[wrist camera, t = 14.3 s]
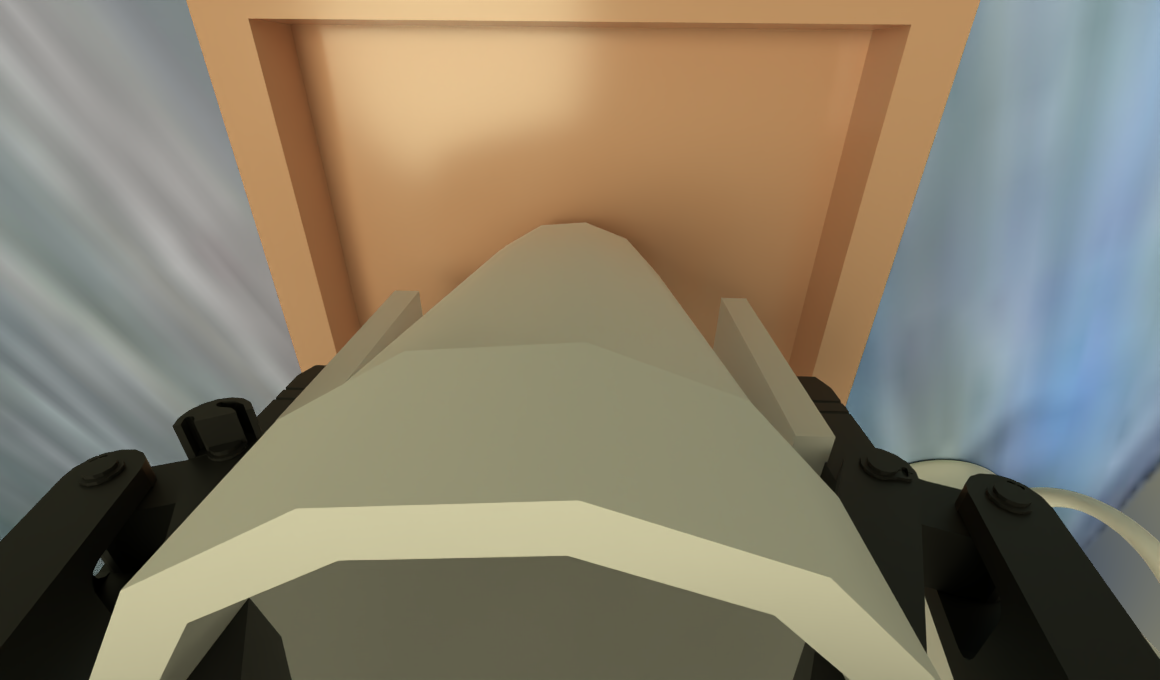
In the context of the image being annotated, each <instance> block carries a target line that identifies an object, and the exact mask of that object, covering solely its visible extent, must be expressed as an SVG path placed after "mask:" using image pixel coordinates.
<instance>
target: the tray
mask: <svg viewBox="0 0 1160 680" xmlns="http://www.w3.org/2000/svg"><path fill="white" fill-rule="evenodd" d="M186 1H187V4H188V8H189V11H190V14H191V17H192V20H193V24H194V27H195V30H196V33H197V37H198V40H199V43H200V46H201V49H202V53H203V56H204V59H205V62H206V66H207V69H208V72H209V75H210V78H211V82H212V85H213V88H214V91H215V95H216V98H217V101H218V104H219V107H220V111H221V114H222V117H223V120H224V124H225V127H226V130H227V133H228V136H229V140H230V143H231V146H232V149H233V153H234V156H235V159H236V162H237V165H238V169H239V172H240V175H241V178H242V182H243V185H244V188H245V191H246V194H247V198H248V201H249V204H250V207H251V211H252V214H253V217H254V220H255V223H256V227H257V230H258V233H259V236H260V240H261V243H262V246H263V249H264V252H265V256H266V259H267V262H268V265H269V269H270V272H271V275H272V278H273V281H274V285H275V288H276V291H277V294H278V298H279V301H280V304H281V307H282V310H283V314H284V317H285V320H286V323H287V327H288V330H289V333H290V336H291V339H292V343H293V346H294V349H295V352H296V356H297V359H298V362H299V365H300V368H301V372H302V373H303V372H304V371H306V370H308V369H310V368H311V367H313V366H315V365H327V364H328V363H329V362H330V361H331V360H332V359H333V358H334V357H335V355H336V354H337V353H338V352H339V351H340V350H341V349H342V348H343V347H344V346H345V345H346V343H347V342H348V341H349V340H350V339H351V338H352V337H353V336H354V335H355V334H356V333H357V331H358V330H359V329H360V328H361V327H362V326H363V325H364V324H365V323H366V322H367V321H368V319H369V318H370V317H371V316H372V315H373V314H374V313H375V312H376V311H377V310H378V309H379V307H380V306H381V305H382V304H383V303H384V302H385V301H386V300H387V299H388V298H389V297H390V295H391V294H392V293H393V292H394V291H419V295H420V301H421V307H422V313H423V315H425V314H426V313H427V312H428V311H429V310H430V309H432V308H433V307H434V306H435V305H436V304H437V303H439V302H440V301H441V300H442V299H443V298H444V297H446V296H447V295H448V294H449V293H450V292H451V291H453V290H454V289H455V288H456V287H457V286H458V285H460V284H461V283H462V282H463V281H464V280H465V279H467V278H468V277H469V276H470V275H471V274H472V273H474V272H475V271H476V270H477V269H478V268H479V267H481V266H482V265H483V264H484V263H485V262H486V261H488V260H489V259H490V258H491V257H492V256H493V255H495V254H496V253H497V252H498V251H499V250H501V249H503V248H504V247H505V246H506V245H508V244H510V243H512V242H513V241H515V240H517V239H518V238H520V237H522V236H524V235H525V234H527V233H529V232H531V231H532V230H534V229H536V228H538V227H539V226H541V225H553V224H568V223H583V222H586V223H588V224H591V225H593V226H596V227H598V228H601V229H603V230H606V231H608V232H611V233H613V234H616V235H618V236H621V237H623V238H626V239H627V240H628V241H629V242H630V243H631V245H632V246H633V247H634V248H635V249H636V250H637V251H638V252H639V253H640V255H641V256H642V257H643V258H644V259H645V260H646V261H647V262H648V263H649V265H650V266H651V267H652V268H653V269H654V271H655V272H656V273H657V274H658V275H659V276H660V278H661V279H662V280H663V282H664V283H665V285H666V286H667V287H668V289H669V290H670V291H671V293H672V294H673V296H674V297H675V298H676V300H677V301H678V302H679V304H680V305H681V307H682V308H683V309H684V311H685V312H686V313H687V315H688V316H689V318H690V319H691V320H692V322H693V323H694V324H695V326H696V327H697V329H698V330H699V331H700V333H701V334H702V335H703V337H704V338H705V340H706V341H707V342H708V344H709V345H710V346H711V348H712V349H713V346H714V340H715V334H716V328H717V322H718V315H719V309H720V303H721V298H746V299H747V301H748V302H749V304H750V305H751V307H752V308H753V310H754V311H755V313H756V315H757V316H758V318H759V319H760V321H761V322H762V324H763V325H764V327H765V329H766V330H767V332H768V333H769V335H770V336H771V338H772V339H773V341H774V342H775V344H776V346H777V347H778V349H779V350H780V352H781V353H782V355H783V356H784V358H785V359H786V361H787V363H788V364H789V366H790V367H791V369H792V370H793V372H794V373H795V375H796V376H811V377H816V378H818V379H819V380H821V381H822V382H824V383H825V384H826V385H828V386H829V387H831V388H832V390H833V391H834V392H835V394H836V395H837V396H838V398H839V399H840V400H841V403H843V405H844V406H846V403H847V400H848V397H849V394H850V391H851V388H852V385H853V382H854V379H855V376H856V373H857V370H858V367H859V364H860V361H861V358H862V355H863V352H864V349H865V345H866V342H867V339H868V336H869V333H870V330H871V327H872V324H873V321H874V318H875V315H876V312H877V309H878V306H879V303H880V300H881V297H882V294H883V291H884V288H885V285H886V282H887V279H888V276H889V273H890V270H891V267H892V264H893V261H894V258H895V255H896V252H897V249H898V246H899V243H900V240H901V237H902V234H903V231H904V228H905V225H906V222H907V219H908V216H909V213H910V210H911V207H912V204H913V201H914V198H915V195H916V192H917V189H918V186H919V183H920V180H921V177H922V174H923V171H924V168H925V165H926V162H927V159H928V156H929V153H930V150H931V147H932V144H933V141H934V138H935V135H936V132H937V129H938V126H939V123H940V120H941V117H942V114H943V111H944V108H945V105H946V102H947V99H948V96H949V93H950V90H951V87H952V84H953V81H954V78H955V75H956V72H957V69H958V66H959V63H960V60H961V57H962V54H963V51H964V48H965V45H966V42H967V39H968V36H969V33H970V30H971V27H972V24H973V21H974V18H975V15H976V12H977V9H978V6H979V3H980V0H186Z"/></svg>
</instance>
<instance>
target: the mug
mask: <svg viewBox="0 0 1160 680" xmlns="http://www.w3.org/2000/svg"><path fill="white" fill-rule="evenodd" d="M909 465H910V466H911V467H912V468H913V469H914V470H915V471H916V473H917V475H918V478H919V479H922V480H925V481H928V482H932V483H937V484H941V485H945V486H949V487H953V488H957V489H961V490H962V489H963V487H964V485H965V483H966V481H967V480H968V478H969V477H970V476H972V475H976V474H979V473H982V474H994V473H993V472H991V471H990V470H988V469H986V468H984V467H981V466H979V465H976V464H972V463H968V462H963V461H955V460H931V461H923V462H917V463H912V464H909ZM995 475H996V474H995ZM1030 489H1031V490H1033V491H1034V492H1036V493H1037V494H1039V495H1040V496H1042V497H1043V498H1044V499H1045V501H1046V502H1047V503H1048V504H1049V505H1050V506H1051V507H1066V508H1072V509H1076V510H1079V511H1082V512H1085V513H1087V514H1089V515H1091V516H1093V517H1095V518H1097V519H1099V520H1100V521H1102V522H1104V523H1105V524H1107V525H1108V526H1109V527H1111V528H1112V529H1114V530H1115V531H1116V532H1117V533H1119V534H1120V535H1121V536H1122V537H1123V538H1124V539H1125V540H1127V542H1128V543H1129V544H1130V545H1131V546H1132V547H1133V548H1134V549H1135V550H1136V551H1137V552H1138V553H1139V555H1140V556H1141V557H1142V558H1143V559H1144V561H1145V562H1146V563H1147V565H1148V566H1149V567H1150V569H1151V571H1152V572H1153V574H1154V575H1155V577H1156V579H1157V580H1158V582H1159V584H1160V542H1159V541H1158V540H1157V539H1156V538H1155V537H1154V536H1152V535H1151V534H1150V533H1149V532H1148V531H1147V530H1146V529H1144V528H1143V527H1142V526H1140V525H1139V524H1138V523H1136V522H1135V521H1134V520H1132V519H1131V518H1129V517H1128V516H1126V515H1125V514H1123V513H1122V512H1120V511H1118V510H1117V509H1115V508H1113V507H1111V506H1109V505H1107V504H1105V503H1103V502H1101V501H1099V500H1097V499H1094V498H1092V497H1089V496H1086V495H1083V494H1080V493H1077V492H1073V491H1069V490H1064V489H1058V488H1049V487H1033V488H1030ZM925 617H926V641H927V655H928V657H929V659H930V661H931V662H932V664H933V666H934V668H935V670H936V671H937V673H938V675H939V677H940V678H941V680H954V679H953V676H952V673H951V671H950V668H949V665H948V662H947V659H946V656H945V653H944V650H943V648H942V645H941V642H940V639H939V636H938V633H937V630H936V627H935V624H934V622H933V619H932V616H931V613H930V610H929V607H928V604H927V601H926V599H925ZM1142 635H1143V634H1142ZM1143 636H1144V635H1143ZM1144 638H1145V639H1146V637H1145V636H1144ZM1146 640H1147V642H1148V643H1149V645H1150V646H1151V647H1152V649H1153V650H1154V652H1155V653H1156V654H1157V656H1158V657H1159V659H1160V652H1159V651H1158V650H1157V649H1156V648H1155V647H1154V646H1153V645H1152V644H1151V642H1150V641H1149V640H1148V639H1146Z"/></svg>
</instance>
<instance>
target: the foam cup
mask: <svg viewBox="0 0 1160 680" xmlns="http://www.w3.org/2000/svg"><path fill="white" fill-rule="evenodd" d="M248 598H250V599H251V600H252V601H253V603H254V604H255V605H256V606H257V607H258V609H259V610H260V611H261V612H262V614H263V615H264V616H265V617H266V618H267V620H268V621H269V622H270V623H271V625H272V626H273V627H274V628H275V629H276V631H277V632H278V633H279V634H280V636H281V637H282V641H283V645H284V650H285V654H286V658H287V662H288V666H289V671H290V675H291V679H292V680H793V677H794V674H795V671H796V668H797V665H798V662H799V659H800V656H801V653H802V650H803V647H804V644H805V642H806V643H807V644H809V645H810V646H811V647H812V648H813V649H814V650H816V651H817V652H818V653H819V654H820V655H821V656H823V657H824V658H825V659H826V660H827V661H829V662H830V663H831V664H832V665H833V666H834V667H836V668H837V669H838V670H839V671H840V672H841V673H843V675H844V678H845V680H941V678H940V677H939V675H938V673H937V671H936V670H935V668H934V666H933V664H932V662H931V661H930V659H929V657H928V655H927V654H926V652H925V650H924V648H923V646H922V645H921V643H920V641H919V639H918V638H917V636H916V634H915V632H914V630H913V629H912V627H911V625H910V623H909V622H908V620H907V618H906V616H905V614H904V613H903V611H902V609H901V607H900V606H899V604H898V602H897V600H896V598H895V597H894V595H893V593H892V591H891V590H890V588H889V586H888V584H887V582H886V581H885V579H884V577H883V575H882V574H881V572H880V570H879V568H878V566H877V565H876V563H875V561H874V559H873V558H872V556H871V554H870V552H869V550H868V549H867V547H866V545H865V543H864V542H863V540H862V538H861V536H860V534H859V533H858V531H857V529H856V527H855V526H854V524H853V522H852V520H851V518H850V517H849V515H848V513H847V511H846V509H845V508H844V506H843V504H842V502H841V501H840V499H839V497H838V496H837V495H836V494H835V493H834V492H833V491H832V490H831V489H830V487H829V486H828V485H827V484H826V483H825V482H824V481H823V480H822V479H821V478H820V477H819V476H818V474H817V473H816V472H815V471H814V470H813V469H812V468H811V467H810V466H809V465H808V464H807V463H806V461H805V460H804V459H803V458H802V457H801V456H800V455H799V454H798V453H797V452H796V451H795V449H794V448H793V447H792V446H791V445H790V444H789V443H788V442H787V441H786V440H785V439H784V438H783V436H782V435H781V434H780V433H779V432H778V431H777V430H776V429H775V428H774V427H773V426H772V425H771V423H770V422H769V421H768V420H767V419H766V418H765V417H764V416H763V415H762V414H761V413H760V412H759V410H758V409H757V408H756V407H755V406H754V405H753V404H752V403H751V401H750V400H749V399H748V397H747V396H746V395H745V393H744V392H743V390H742V389H741V388H740V386H739V385H738V384H737V382H736V381H735V379H734V378H733V377H732V375H731V374H730V373H729V371H728V370H727V368H726V367H725V366H724V364H723V363H722V362H721V360H720V359H719V357H718V356H717V355H716V353H715V352H714V351H713V349H712V348H711V346H710V345H709V344H708V342H707V341H706V340H705V338H704V337H703V335H702V334H701V333H700V331H699V330H698V329H697V327H696V326H695V324H694V323H693V322H692V320H691V319H690V318H689V316H688V315H687V313H686V312H685V311H684V309H683V308H682V307H681V305H680V304H679V302H678V301H677V300H676V298H675V297H674V296H673V294H672V293H671V291H670V290H669V289H668V287H667V286H666V285H665V283H664V282H663V280H662V279H661V278H660V276H659V275H658V274H657V273H656V272H655V271H654V269H653V268H652V267H651V266H650V265H649V263H648V262H647V261H646V260H645V259H644V258H643V257H642V256H641V255H640V253H639V252H638V251H637V250H636V249H635V248H634V247H633V246H632V245H631V243H630V242H629V241H628V240H627V239H626V238H623V237H621V236H618V235H616V234H613V233H611V232H608V231H606V230H603V229H601V228H598V227H596V226H593V225H591V224H588V223H586V222H583V223H568V224H553V225H541V226H539V227H538V228H536V229H534V230H532V231H531V232H529V233H527V234H525V235H524V236H522V237H520V238H518V239H517V240H515V241H513V242H512V243H510V244H508V245H506V246H505V247H504V248H503V249H501V250H499V251H498V252H497V253H496V254H495V255H493V256H492V257H491V258H490V259H489V260H488V261H486V262H485V263H484V264H483V265H482V266H481V267H479V268H478V269H477V270H476V271H475V272H474V273H472V274H471V275H470V276H469V277H468V278H467V279H465V280H464V281H463V282H462V283H461V284H460V285H458V286H457V287H456V288H455V289H454V290H453V291H451V292H450V293H449V294H448V295H447V296H446V297H444V298H443V299H442V300H441V301H440V302H439V303H437V304H436V305H435V306H434V307H433V308H432V309H430V310H429V311H428V312H427V313H426V314H425V315H423V316H422V317H421V318H420V319H419V320H418V321H416V322H415V323H414V324H413V325H412V326H411V327H409V328H408V329H407V330H406V331H405V332H404V333H402V334H401V335H400V336H399V337H398V338H397V339H395V340H394V341H393V342H392V343H391V344H389V345H388V346H387V347H386V348H385V349H384V350H382V351H381V352H380V353H379V354H378V355H377V356H375V357H374V358H373V359H372V360H371V361H370V362H368V363H367V364H366V365H365V366H364V367H363V368H361V369H360V370H359V371H358V372H357V373H356V374H354V375H353V376H352V377H351V378H350V379H349V380H347V381H346V382H345V383H344V384H343V385H341V386H339V387H337V388H335V389H333V390H332V391H330V392H328V393H326V394H324V395H322V396H321V397H319V398H317V399H315V400H313V401H311V402H310V403H308V404H306V405H304V406H302V407H300V408H298V409H297V410H295V411H293V412H291V413H289V414H287V415H286V416H284V417H282V418H280V419H278V420H276V422H275V423H274V424H273V425H272V426H271V427H270V428H269V429H268V430H267V431H266V432H265V434H264V435H263V436H262V437H261V438H260V439H259V440H258V441H257V442H256V443H255V444H254V446H253V447H252V448H251V449H250V450H249V451H248V452H247V453H246V454H245V455H244V456H243V458H242V459H241V460H240V461H239V462H238V463H237V464H236V465H235V466H234V467H233V468H232V470H231V471H230V472H229V473H228V474H227V475H226V476H225V477H224V478H223V479H222V480H221V482H220V483H219V484H218V485H217V486H216V487H215V488H214V489H213V490H212V491H211V492H210V494H209V495H208V496H207V497H206V498H205V499H204V500H203V501H202V502H201V503H200V504H199V506H198V507H197V508H196V509H195V510H194V511H193V512H192V513H191V514H190V515H189V516H188V518H187V519H186V520H185V521H184V522H183V523H182V524H181V525H180V526H179V527H178V528H177V530H176V531H175V532H174V533H173V534H172V535H171V536H170V537H169V538H168V539H167V540H166V542H165V543H164V544H163V545H162V546H161V547H160V548H159V549H158V550H157V551H156V552H155V554H154V555H153V556H152V557H151V558H150V559H149V560H148V561H147V562H146V563H145V564H144V566H143V567H142V568H141V569H140V570H139V571H138V572H137V573H136V574H135V575H134V576H133V578H132V579H131V580H130V581H129V582H128V583H127V584H126V585H125V586H124V587H123V588H122V590H121V591H120V593H119V596H118V599H117V602H116V605H115V607H114V610H113V613H112V616H111V619H110V622H109V625H108V627H107V630H106V633H105V636H104V639H103V642H102V644H101V647H100V650H99V653H98V656H97V659H96V661H95V664H94V667H93V670H92V673H91V676H90V679H89V680H186V679H187V678H188V677H189V675H190V674H191V673H192V671H193V670H194V669H195V667H196V666H197V665H198V664H199V662H200V661H201V660H202V658H203V657H204V656H205V654H206V653H207V652H208V650H209V649H210V648H211V646H212V645H213V644H214V643H215V641H216V640H217V639H218V637H219V636H220V635H221V633H222V632H223V631H224V629H225V628H226V627H227V625H228V624H229V623H230V622H231V620H232V619H233V618H234V616H235V615H236V614H237V612H238V611H239V610H240V608H241V607H242V606H243V604H244V603H245V602H246V601H247V599H248Z"/></svg>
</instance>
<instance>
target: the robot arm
mask: <svg viewBox="0 0 1160 680" xmlns="http://www.w3.org/2000/svg"><path fill="white" fill-rule="evenodd" d="M422 316H423V313H422V307H421V301H420V295H419V291H394V292H393V293H392V294H391V295H390V297H389V298H388V299H387V300H386V301H385V302H384V303H383V304H382V305H381V306H380V307H379V309H378V310H377V311H376V312H375V313H374V314H373V315H372V316H371V317H370V318H369V319H368V321H367V322H366V323H365V324H364V325H363V326H362V327H361V328H360V329H359V330H358V331H357V333H356V334H355V335H354V336H353V337H352V338H351V339H350V340H349V341H348V342H347V343H346V345H345V346H344V347H343V348H342V349H341V350H340V351H339V352H338V353H337V354H336V355H335V357H334V358H333V359H332V360H331V361H330V362H329V363H328V364H327V365H315V366H313V367H311V368H310V369H308V370H306V371H304V372H303V373H301V374H299V375H298V376H297V377H296V378H295V379H294V380H293V381H292V382H291V383H290V384H289V385H288V386H287V387H286V390H283V391H282V392H281V393H280V394H279V395H278V396H277V397H276V400H273V401H272V402H271V403H270V404H269V405H268V406H267V407H266V408H265V409H264V410H263V411H262V412H261V413H260V414H259V415H258V416H257V417H256V415H255V412H254V409H253V407H252V404H251V402H249V401H247V400H246V399H243V398H233V397H232V398H224V399H217V400H214V401H211V402H207V403H204V404H201V405H199V406H197V407H195V408H193V409H191V410H189V411H188V412H186V413H185V414H183V415H182V416H181V417H179V418H178V419H177V421H176V422H175V424H174V425H173V428H174V430H175V432H176V434H177V436H178V438H179V440H180V442H181V444H182V446H183V449H184V451H185V453H186V455H187V457H188V459H189V460H186V461H180V462H175V463H169V464H163V465H158V466H152V467H151V466H150V464H149V462H148V460H147V459H146V457H145V455H144V453H143V452H140V451H137V450H118V451H114V452H108V453H104V454H101V455H99V456H95V457H93V458H91V459H88V460H87V461H86V462H84V463H82V464H80V465H78V466H76V467H75V468H73V469H72V470H71V471H69V472H68V473H67V474H66V475H64V476H63V477H62V478H61V479H60V480H59V481H58V482H57V483H56V484H55V485H54V486H53V487H52V488H51V489H50V490H49V491H48V493H47V494H46V495H45V496H44V497H43V498H42V499H41V500H40V501H39V502H38V503H37V504H36V505H35V506H34V507H33V508H32V509H31V510H30V511H29V512H28V513H27V514H26V515H25V516H24V517H23V519H22V520H21V521H20V522H19V523H18V524H17V525H16V526H15V527H14V528H13V529H12V530H11V531H10V532H9V533H8V534H7V535H6V536H5V537H4V538H3V539H2V540H1V541H0V680H89V679H90V676H91V673H92V670H93V667H94V664H95V661H96V659H97V656H98V653H99V650H100V647H101V644H102V642H103V639H104V636H105V633H106V630H107V627H108V625H109V622H110V619H111V616H112V613H113V610H114V607H115V605H116V602H117V599H118V596H119V593H120V591H121V590H122V588H123V587H124V586H125V585H126V584H127V583H128V582H129V581H130V580H131V579H132V578H133V576H134V575H135V574H136V573H137V572H138V571H139V570H140V569H141V568H142V567H143V566H144V564H145V563H146V562H147V561H148V560H149V559H150V558H151V557H152V556H153V555H154V554H155V552H156V551H157V550H158V549H159V548H160V547H161V546H162V545H163V544H164V543H165V542H166V540H167V539H168V538H169V537H170V536H171V535H172V534H173V533H174V532H175V531H176V530H177V528H178V527H179V526H180V525H181V524H182V523H183V522H184V521H185V520H186V519H187V518H188V516H189V515H190V514H191V513H192V512H193V511H194V510H195V509H196V508H197V507H198V506H199V504H200V503H201V502H202V501H203V500H204V499H205V498H206V497H207V496H208V495H209V494H210V492H211V491H212V490H213V489H214V488H215V487H216V486H217V485H218V484H219V483H220V482H221V480H222V479H223V478H224V477H225V476H226V475H227V474H228V473H229V472H230V471H231V470H232V468H233V467H234V466H235V465H236V464H237V463H238V462H239V461H240V460H241V459H242V458H243V456H244V455H245V454H246V453H247V452H248V451H249V450H250V449H251V448H252V447H253V446H254V444H255V443H256V442H257V441H258V440H259V439H260V438H261V437H262V436H263V435H264V434H265V432H266V431H267V430H268V429H269V428H270V427H271V426H272V425H273V424H274V423H275V422H276V420H278V419H280V418H282V417H284V416H286V415H287V414H289V413H291V412H293V411H295V410H297V409H298V408H300V407H302V406H304V405H306V404H308V403H310V402H311V401H313V400H315V399H317V398H319V397H321V396H322V395H324V394H326V393H328V392H330V391H332V390H333V389H335V388H337V387H339V386H341V385H343V384H344V383H345V382H346V381H347V380H349V379H350V378H351V377H352V376H353V375H354V374H356V373H357V372H358V371H359V370H360V369H361V368H363V367H364V366H365V365H366V364H367V363H368V362H370V361H371V360H372V359H373V358H374V357H375V356H377V355H378V354H379V353H380V352H381V351H382V350H384V349H385V348H386V347H387V346H388V345H389V344H391V343H392V342H393V341H394V340H395V339H397V338H398V337H399V336H400V335H401V334H402V333H404V332H405V331H406V330H407V329H408V328H409V327H411V326H412V325H413V324H414V323H415V322H416V321H418V320H419V319H420V318H421V317H422ZM713 351H714V352H715V353H716V355H717V356H718V357H719V359H720V360H721V362H722V363H723V364H724V366H725V367H726V368H727V370H728V371H729V373H730V374H731V375H732V377H733V378H734V379H735V381H736V382H737V384H738V385H739V386H740V388H741V389H742V390H743V392H744V393H745V395H746V396H747V397H748V399H749V400H750V401H751V403H752V404H753V405H754V406H755V407H756V408H757V409H758V410H759V412H760V413H761V414H762V415H763V416H764V417H765V418H766V419H767V420H768V421H769V422H770V423H771V425H772V426H773V427H774V428H775V429H776V430H777V431H778V432H779V433H780V434H781V435H782V436H783V438H784V439H785V440H786V441H787V442H788V443H789V444H790V445H791V446H792V447H793V448H794V449H795V451H796V452H797V453H798V454H799V455H800V456H801V457H802V458H803V459H804V460H805V461H806V463H807V464H808V465H809V466H810V467H811V468H812V469H813V470H814V471H815V472H816V473H817V474H818V476H819V477H820V478H821V479H822V480H823V481H824V482H825V483H826V484H827V485H828V486H829V487H830V489H831V490H832V491H833V492H834V493H835V494H836V495H837V496H838V497H839V499H840V501H841V502H842V504H843V506H844V508H845V509H846V511H847V513H848V515H849V517H850V518H851V520H852V522H853V524H854V526H855V527H856V529H857V531H858V533H859V534H860V536H861V538H862V540H863V542H864V543H865V545H866V547H867V549H868V550H869V552H870V554H871V556H872V558H873V559H874V561H875V563H876V565H877V566H878V568H879V570H880V572H881V574H882V575H883V577H884V579H885V581H886V582H887V584H888V586H889V588H890V590H891V591H892V593H893V595H894V597H895V598H896V600H897V602H898V604H899V606H900V607H901V609H902V611H903V613H904V614H905V616H906V618H907V620H908V622H909V623H910V625H911V627H912V629H913V630H914V632H915V634H916V636H917V638H918V639H919V641H920V643H921V645H922V646H923V648H924V650H925V652H926V654H927V641H926V617H925V599H926V601H927V604H928V607H929V610H930V613H931V616H932V619H933V622H934V624H935V627H936V630H937V633H938V636H939V639H940V642H941V645H942V648H943V650H944V653H945V656H946V659H947V662H948V665H949V668H950V671H951V673H952V676H953V679H954V680H1160V659H1159V657H1158V656H1157V654H1156V653H1155V652H1154V650H1153V649H1152V647H1151V646H1150V645H1149V643H1148V642H1147V640H1146V639H1145V638H1144V636H1143V635H1142V633H1141V632H1140V631H1139V629H1138V628H1137V626H1136V625H1135V624H1134V622H1133V621H1132V619H1131V618H1130V616H1129V615H1128V614H1127V613H1126V611H1125V609H1124V608H1123V607H1122V605H1121V604H1120V602H1119V601H1118V600H1117V598H1116V597H1115V595H1114V594H1113V593H1112V591H1111V590H1110V588H1109V587H1108V586H1107V584H1106V583H1105V581H1104V580H1103V579H1102V577H1101V576H1100V574H1099V573H1098V571H1097V570H1096V569H1095V567H1094V566H1093V564H1092V563H1091V562H1090V560H1089V559H1088V557H1087V556H1086V555H1085V553H1084V552H1083V550H1082V549H1081V547H1080V546H1079V545H1078V543H1077V542H1076V540H1075V539H1074V538H1073V536H1072V535H1071V533H1070V532H1069V531H1068V529H1067V528H1066V526H1065V525H1064V523H1063V522H1062V521H1061V519H1060V518H1059V516H1058V515H1057V514H1056V512H1055V511H1054V509H1053V508H1052V507H1051V506H1050V505H1049V504H1048V503H1047V502H1046V501H1045V499H1044V498H1043V497H1042V496H1040V495H1039V494H1037V493H1036V492H1034V491H1033V490H1031V489H1030V488H1028V487H1027V486H1025V485H1023V484H1021V483H1019V482H1016V481H1014V480H1012V479H1009V478H1005V477H1002V476H998V475H995V474H982V473H979V474H976V475H972V476H970V477H969V478H968V480H967V481H966V483H965V485H964V487H963V489H962V490H961V489H957V488H953V487H949V486H945V485H941V484H937V483H932V482H928V481H925V480H922V479H919V478H918V475H917V473H916V471H915V470H914V469H913V468H912V467H911V466H910V465H909V464H908V463H907V462H906V461H904V460H903V459H901V458H899V457H898V456H896V455H894V454H892V453H890V452H887V451H885V450H882V449H878V448H875V447H874V446H873V444H872V443H871V441H870V440H869V439H868V437H867V436H866V435H865V433H864V432H863V430H862V429H861V428H860V426H859V425H858V424H857V422H856V421H855V420H854V418H853V417H852V415H851V414H849V413H848V412H849V411H848V410H847V409H846V407H845V406H844V405H843V403H841V400H840V399H839V398H838V396H837V395H836V394H835V392H834V391H833V390H832V388H831V387H829V386H828V385H826V384H825V383H824V382H822V381H821V380H819V379H818V378H816V377H811V376H796V375H795V373H794V372H793V370H792V369H791V367H790V366H789V364H788V363H787V361H786V359H785V358H784V356H783V355H782V353H781V352H780V350H779V349H778V347H777V346H776V344H775V342H774V341H773V339H772V338H771V336H770V335H769V333H768V332H767V330H766V329H765V327H764V325H763V324H762V322H761V321H760V319H759V318H758V316H757V315H756V313H755V311H754V310H753V308H752V307H751V305H750V304H749V302H748V301H747V299H746V298H721V303H720V309H719V315H718V322H717V328H716V334H715V340H714V346H713ZM100 557H101V559H102V560H103V561H104V563H105V564H104V566H103V567H102V568H101V570H100V571H99V573H98V574H97V575H96V576H93V570H94V568H95V566H96V564H97V562H98V560H99V559H100ZM186 680H292V679H291V675H290V671H289V666H288V662H287V658H286V654H285V650H284V645H283V641H282V637H281V636H280V634H279V633H278V632H277V631H276V629H275V628H274V627H273V626H272V625H271V623H270V622H269V621H268V620H267V618H266V617H265V616H264V615H263V614H262V612H261V611H260V610H259V609H258V607H257V606H256V605H255V604H254V603H253V601H252V600H251V599H250V598H248V599H247V601H246V602H245V603H244V604H243V606H242V607H241V608H240V610H239V611H238V612H237V614H236V615H235V616H234V618H233V619H232V620H231V622H230V623H229V624H228V625H227V627H226V628H225V629H224V631H223V632H222V633H221V635H220V636H219V637H218V639H217V640H216V641H215V643H214V644H213V645H212V646H211V648H210V649H209V650H208V652H207V653H206V654H205V656H204V657H203V658H202V660H201V661H200V662H199V664H198V665H197V666H196V667H195V669H194V670H193V671H192V673H191V674H190V675H189V677H188V678H187V679H186ZM793 680H845V678H844V675H843V673H841V672H840V671H839V670H838V669H837V668H836V667H834V666H833V665H832V664H831V663H830V662H829V661H827V660H826V659H825V658H824V657H823V656H821V655H820V654H819V653H818V652H817V651H816V650H814V649H813V648H812V647H811V646H810V645H809V644H807V643H806V642H805V644H804V647H803V650H802V653H801V656H800V659H799V662H798V665H797V668H796V671H795V674H794V677H793Z"/></svg>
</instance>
